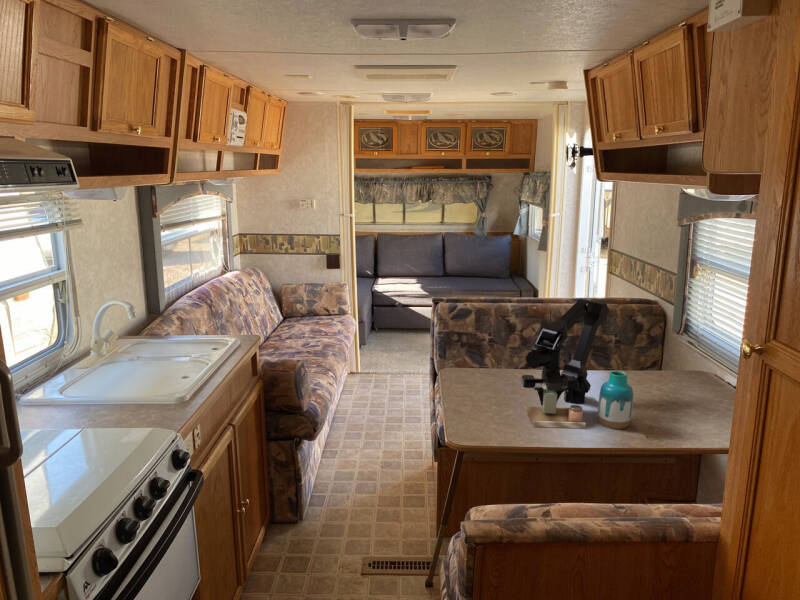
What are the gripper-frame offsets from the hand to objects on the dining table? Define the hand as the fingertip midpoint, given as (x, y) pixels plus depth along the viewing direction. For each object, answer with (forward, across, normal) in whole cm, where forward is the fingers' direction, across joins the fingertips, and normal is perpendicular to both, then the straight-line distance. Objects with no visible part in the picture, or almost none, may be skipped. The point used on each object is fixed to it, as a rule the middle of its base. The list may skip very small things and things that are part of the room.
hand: (548, 405), depth 201 cm
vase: (+4, +20, -8) cm, 22 cm away
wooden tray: (+4, +1, -4) cm, 6 cm away
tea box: (+2, 0, 0) cm, 2 cm away
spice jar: (+2, +7, -10) cm, 12 cm away
